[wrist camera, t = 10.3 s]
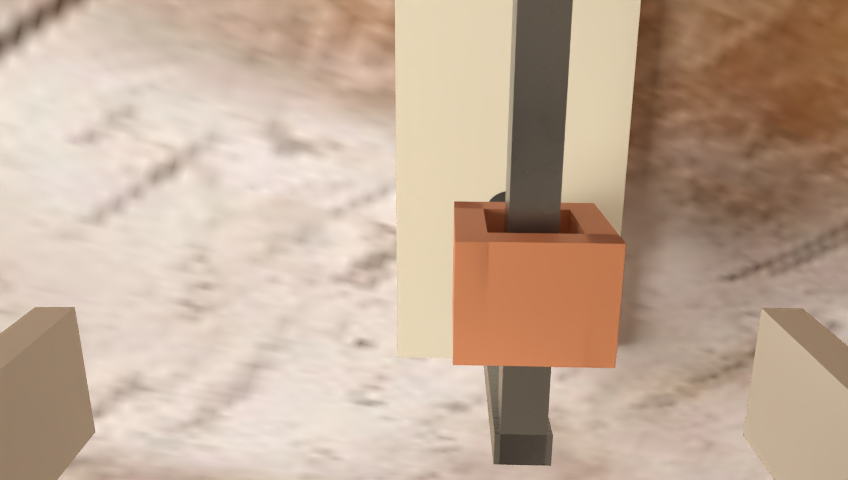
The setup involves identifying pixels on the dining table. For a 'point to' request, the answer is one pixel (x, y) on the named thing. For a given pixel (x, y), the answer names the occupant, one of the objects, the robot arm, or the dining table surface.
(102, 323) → the dining table surface
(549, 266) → the slider sleeve
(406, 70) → the hole board
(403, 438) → the dining table surface
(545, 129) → the grey slider rail frame
